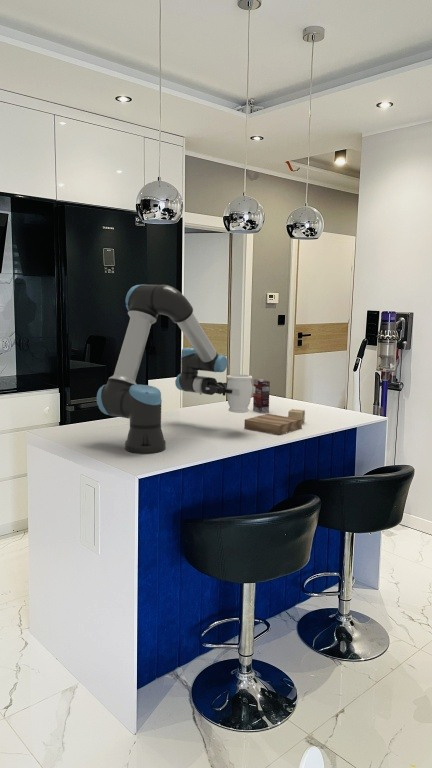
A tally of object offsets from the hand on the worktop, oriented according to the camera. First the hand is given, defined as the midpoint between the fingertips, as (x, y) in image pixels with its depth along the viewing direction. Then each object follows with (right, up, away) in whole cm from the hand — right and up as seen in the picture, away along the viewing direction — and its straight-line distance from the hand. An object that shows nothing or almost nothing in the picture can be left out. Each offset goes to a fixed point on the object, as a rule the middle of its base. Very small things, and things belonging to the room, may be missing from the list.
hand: (247, 391), depth 249 cm
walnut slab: (+12, -16, +15) cm, 25 cm away
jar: (-3, -9, +4) cm, 10 cm away
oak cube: (+24, -15, +26) cm, 39 cm away
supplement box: (+10, -11, +53) cm, 55 cm away
